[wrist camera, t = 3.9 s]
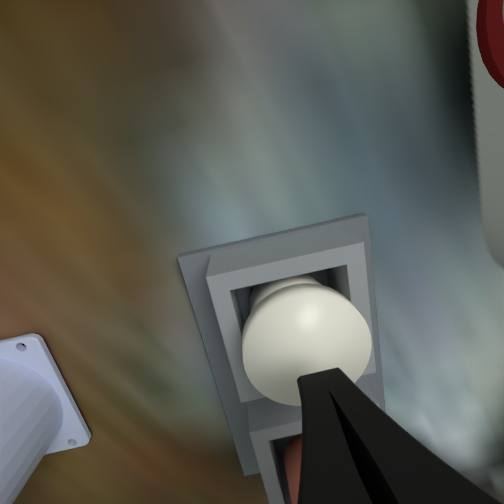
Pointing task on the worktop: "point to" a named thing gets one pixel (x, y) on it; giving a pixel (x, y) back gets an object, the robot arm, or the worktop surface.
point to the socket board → (237, 311)
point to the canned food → (491, 37)
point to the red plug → (293, 466)
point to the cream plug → (301, 336)
